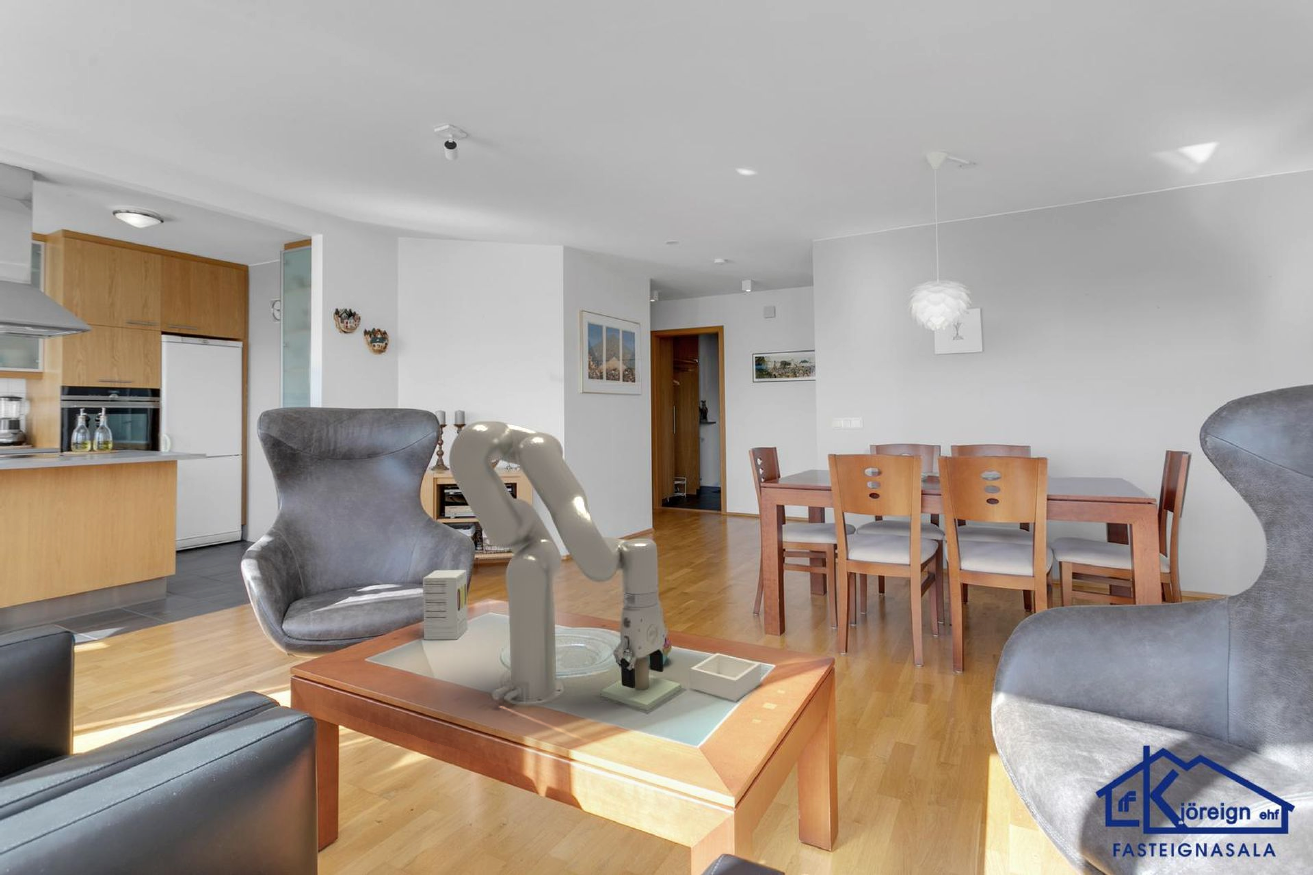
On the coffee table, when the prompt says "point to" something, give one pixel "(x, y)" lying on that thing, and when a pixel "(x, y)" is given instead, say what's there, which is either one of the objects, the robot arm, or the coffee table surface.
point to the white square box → (725, 677)
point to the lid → (642, 688)
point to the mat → (642, 709)
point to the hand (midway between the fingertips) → (643, 678)
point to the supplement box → (445, 604)
